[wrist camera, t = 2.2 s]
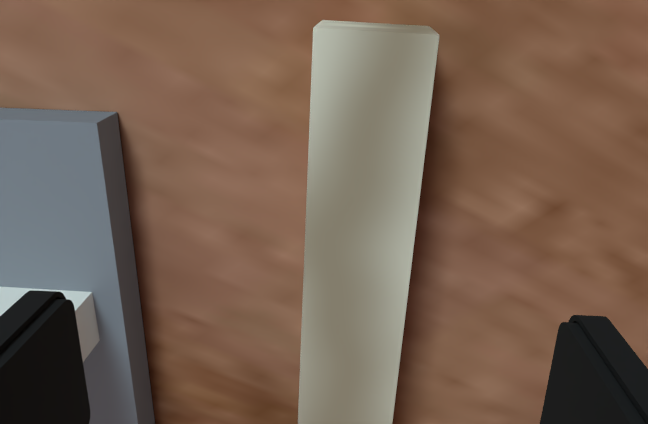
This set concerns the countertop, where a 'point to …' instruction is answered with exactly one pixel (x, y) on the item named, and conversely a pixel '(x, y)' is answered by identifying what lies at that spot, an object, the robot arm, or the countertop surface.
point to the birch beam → (361, 214)
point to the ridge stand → (76, 245)
